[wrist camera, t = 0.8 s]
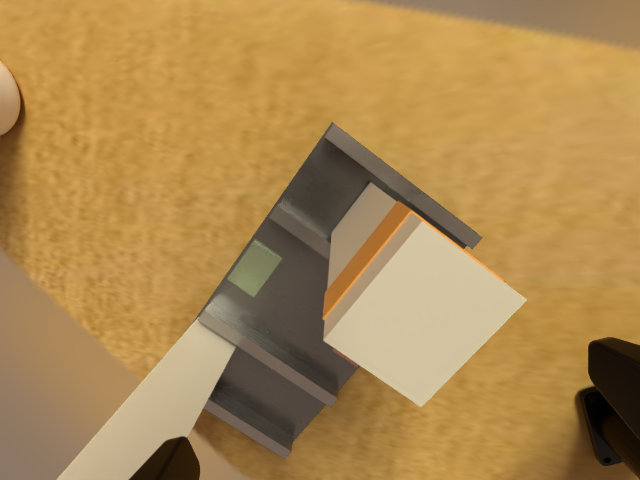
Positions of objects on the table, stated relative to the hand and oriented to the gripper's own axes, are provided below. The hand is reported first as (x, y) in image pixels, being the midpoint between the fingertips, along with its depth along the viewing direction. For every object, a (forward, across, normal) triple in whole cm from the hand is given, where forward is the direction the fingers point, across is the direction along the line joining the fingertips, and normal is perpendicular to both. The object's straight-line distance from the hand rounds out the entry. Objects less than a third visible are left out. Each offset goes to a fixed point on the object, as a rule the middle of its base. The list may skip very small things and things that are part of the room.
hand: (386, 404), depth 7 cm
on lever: (+13, +10, +5) cm, 17 cm away
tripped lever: (+13, -2, 0) cm, 13 cm away
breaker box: (+15, +3, +4) cm, 16 cm away
